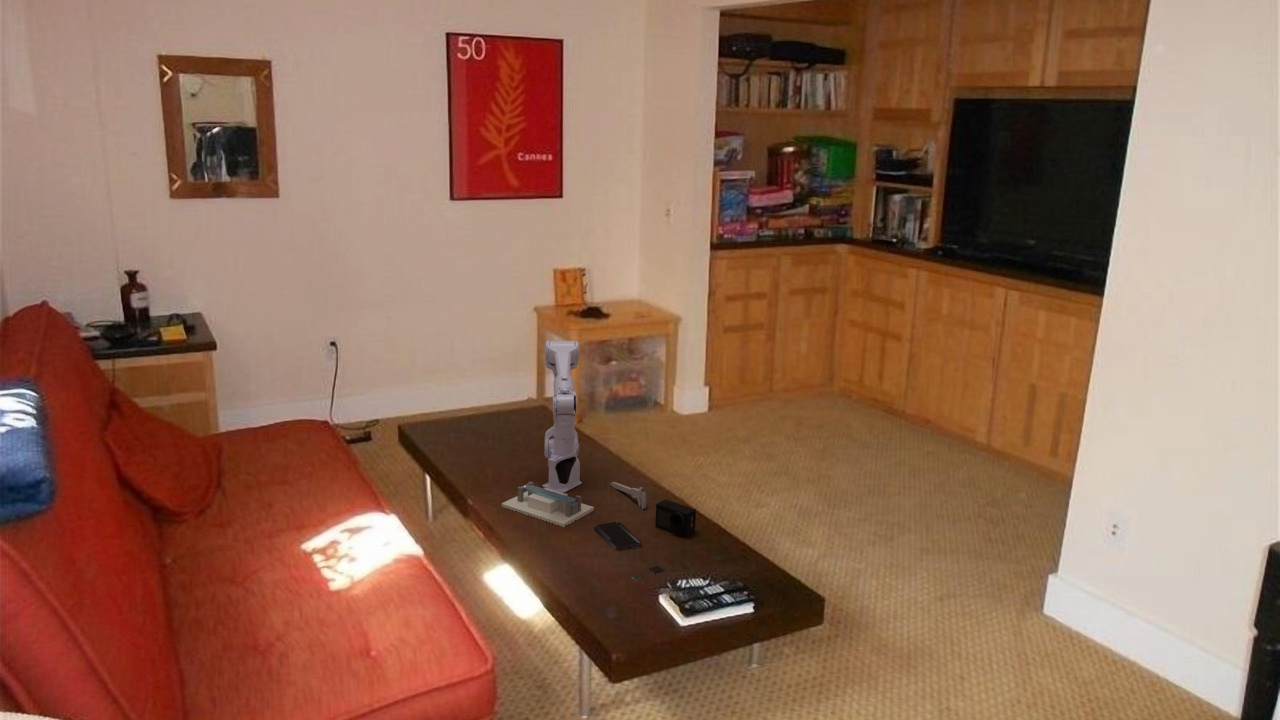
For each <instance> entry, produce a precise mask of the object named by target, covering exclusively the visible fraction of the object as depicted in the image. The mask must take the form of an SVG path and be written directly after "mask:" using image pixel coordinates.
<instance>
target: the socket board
mask: <svg viewBox="0 0 1280 720" xmlns="http://www.w3.org/2000/svg"><path fill="white" fill-rule="evenodd" d="M528 483H529V484H530V485H534V486H535V483H534V482H533V481H528V482H527V484H528ZM543 489H546V490H549V491H553V492H556V493H559V494H562V495H565V496H568V497H569V495H568V494H567V493H565V492H564V493H561V492H558V491H555V490H551V489H548V488H545V487H543ZM574 498H575V499H577V502H575V503H573V504H571V501H568V500H567V501H566V504H565V503H562V502H558V501H555V500H552V499H549V498H546V497H543V496H540V495H537V494H533V493H530V492H527V491H524V488H523V487H522V486H518V487H517V495H516V496H515V497H512V498H510V499H508V500H506V501H503V502H502V503H501V508H503V509H506V508H507V509H506V510H509V509H510V511H512V510H513V512H515V511H517V512H516V513H518V512H519V514H521V513H522V514H521V515H524V516H528V515H529V516H528V517H531V516H532V518H534V517H535V518H534V519H537V518H538V519H537V520H540V519H541V520H540V521H543V520H544V521H543V522H546V521H547V522H546V523H549V522H550V524H552V523H553V524H552V525H555V526H558V525H559V527H561V526H562V527H561V528H565V527H566V525H567V526H569V525H571V524H572V523H574V522H576V521H578V520H579V519H581V518H583V517H585V516H586V515H588V514H590V513H592V512H593V511H595V510H594V509H595V506H592V505H588V504H585V503H582V496H580V495H577V494H576V495H575V497H574ZM575 520H576V521H575ZM568 524H569V525H568Z"/></svg>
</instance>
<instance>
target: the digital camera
mask: <svg viewBox="0 0 1280 720" xmlns="http://www.w3.org/2000/svg"><path fill="white" fill-rule="evenodd" d="M655 506H656V507H655V528H657V529H660V530H662V531H663V530H664V531H666V532H669V533H671V534H673V535H677V536H679V537H683V538H689V537H690V536H692V535H693V534H695V533H696V520H697V509H695V508H693V507H689V506H687V505H683V504H680V503H677V502H676V501H675V502H674V501H671V500H668V499H663V500H661V501H659V502H657V503H656V504H655Z"/></svg>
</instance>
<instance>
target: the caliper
mask: <svg viewBox="0 0 1280 720" xmlns="http://www.w3.org/2000/svg"><path fill="white" fill-rule="evenodd" d="M609 485H610V486H611V487H612V486H613V489H616V490H619V491H622V492H624V493H627V494H629V495H631V498H633V499H637V504H638V508H641V509H642V510H644V509H646V508H647V494H646V491H645V487H641V486H640V487H639V488H636V487H630V486H627V485H623V484H621V483H619V482H616V481H612V482H610V484H609Z"/></svg>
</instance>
